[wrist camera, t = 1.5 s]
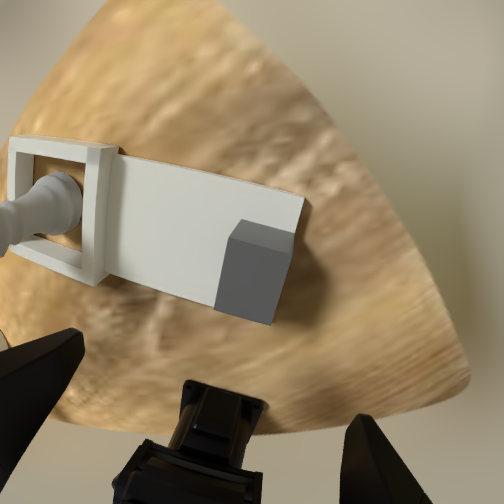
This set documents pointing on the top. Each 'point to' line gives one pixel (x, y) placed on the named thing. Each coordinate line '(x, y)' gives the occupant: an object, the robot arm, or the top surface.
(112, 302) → the top surface
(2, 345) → the cosmetic bottle
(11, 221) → the rook chess piece
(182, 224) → the grey board with frame
